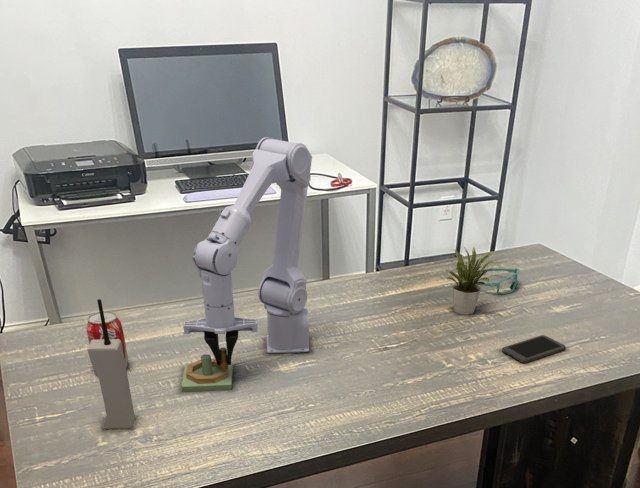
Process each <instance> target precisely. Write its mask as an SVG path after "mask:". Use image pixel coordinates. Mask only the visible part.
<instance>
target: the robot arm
mask: <svg viewBox="0 0 640 488" xmlns="http://www.w3.org/2000/svg"><path fill="white" fill-rule="evenodd" d="M251 159H252V160H251V161H252V167H251V169H250V170H249V174H248V176H247V177H246V180H245V182H244V183H243V186H242V188H241V190H240V192H239V193H238V196H237V198H236V200H235V203H234V204H232V205H227V206H226V207H224V209H223V210H222V211H221V213H220V216H219V218H218V219H217V220H216V222H215V224H214V226H213V228H212V229H211V231H210V232H209V235H208V236H207V238H205V239H202V240H201V241H199V242H198V243H197V244H196V245H195V247H194V250H193V256H192V257H191V260H192V263H193V265H194V266H195V267H196V269H197V271H198V277H200V279H201V288H202V297H203V306H204V318H201V319H195V320H187V321H183V324H182V325H183V334H184V335H190V334H192V333H194V334H195V333H203V339H204V341H205V343H206V344H207V346H208V347H209V349H210V350H211V353H212V355H213V357H214V359H216V362H217V365H221V359H220V344H219V342H220V341H219V335H224V334H225V345H226V346H225V347H226V349H227V364H228V365H231V362H232V356H233V352H234V349H235V347H236V344H237V342H238V339H239V332H252V333H258V318H257V319H256V318H253V319H252V318H244V317H243V318H242V317H235V316H236V315H235V306H234V305H235V304H234V293H233V292H234V291H233V281H232V280H233V279H232V272H233V271H234V269H235V268H236V266H237V263H238V254H239V252H240V248H239V247H240V245H241V243H242V242H243V240H244V238H245V236H246V235H247V233H248V231H249V229H250V228H251V226H252V219H251V214H252V212H253V211H254V209H255V208H256V206H257V205H258V204H259V202H260V200H261V199H262V198H263V196H264V195H265V194H266V192H267V191H268V189H269V188H270V186H271V185H272V184H277V185H278V187H279V188H280V198H279V206H278V216H277V224H276V230H275V231H276V232H275V241H274V248H273V249H274V250H273V259H272V264H271V265H270V266H269V267H267V268H265V269H264V270H263V272H262V278H261V281H260V283H259V286H258V289H257V296H258V299H259V301H260V303H262V304H263V307H264V309H265V310H266V320H267V321H266V322H267V336H266V353H267V354H288V353H291V354H293V353H309V352H310V340H311V332H310V317H309V308H306V307H305V306H306V304H307V301H308V292H307V291H308V290H307V278H306V277H305V275H304V274H303V273H302V272H301V270H300V269H299V268H298V267H299V260H300V259H299V258H300V251H301V244H302V235H303V229H304V219H305V213H306V205H307V195H308V189H309V184H310V176H311V170H312V161H313V155H312V154H311V153H310V150H309V149H308V147H307V145H305V144H304V143H302V142H292V141H287V140H280V139H276V138H271V137H268V136H267V137H262V138H261V139H260V140H259V141H258V143H257V145H256V147H255V150H254V151H253V152H252V155H251Z"/></svg>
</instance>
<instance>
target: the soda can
mask: <svg viewBox="0 0 640 488" xmlns="http://www.w3.org/2000/svg"><path fill="white" fill-rule="evenodd" d="M103 313H104V318H105V323H106V326H107V330H108V335H109V339H120V340H121V343H122V348H123V354H124V359H125V365H126V368H127V367H128V365H129V358H128V357H129V355H128V351H127V350H128V349H127V345H126V339H125V335H124V329H123V325H122V321H121V320H120V319H119V318H118V314H117V313H115V312H113V311H109V310H103ZM85 328H86V335H87V339H88V340H87V341H88V345H89V344H90V342H91V340H100V339H104V336H103V331H102V322H101V317H100V312H99V311H97V312H94V313H91V314H89V315H88V316H87V323H86V326H85Z"/></svg>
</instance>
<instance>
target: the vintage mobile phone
mask: <svg viewBox="0 0 640 488" xmlns="http://www.w3.org/2000/svg"><path fill="white" fill-rule="evenodd" d="M97 306H98V310H99V311H98V312H100V317H101V322H102V331H103V336H104V339H100V340H91V342H90V344H89V343H88V346H87V349H86V351H87V353H88V357H89V359H90V363H91V367H92V369H93V372H94V375H95V376H96V377H97V378H98V380H99V385H100V391H101V395H102V399H103V404H104V409H105V414H106V415H105V417H104V421H103V423H102V426H103V429H105V430H119V429H120V430H122V429H123V430H124V429H132V427H133V423H134V421H135V418H136V415H135V410H134V404H133V398H132V394H131V393H132V392H131V388H130V382H129V376H128V371H127V367H126V365H125V359H124V354H123V348H122V343H121V340H120V339H109V335H108V330H107V326H106V323H105V318H104V313H103V311H104V308H103V303H102V299H100V298H98V299H97Z"/></svg>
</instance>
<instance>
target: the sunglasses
mask: <svg viewBox="0 0 640 488" xmlns="http://www.w3.org/2000/svg"><path fill="white" fill-rule="evenodd" d="M488 269H492V270H489V271H488V272H501V271H503V272H507V273H513V274H511V275H510V276H507V277H506V278H504V279H501V280H499V281H496V282H484V283H485V285H483V284H476V285H478V286H485V287H486V286H488V287H496V294H498V295H509V294H510V293H513V292H514V290H515V289H518V285H519V280H518V274H519V273H520V271H521V269H520V268H500V267H499V268H496V267H495V268H494V267H491V268H484V269H483V272H484V271H485V270H488ZM483 272H481V273H483ZM511 278H512V284H511V285H510V287H509V289H510V290H509V291H507V292H500V287H501V283H502V282H505V281H507V280H509V279H511Z"/></svg>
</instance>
